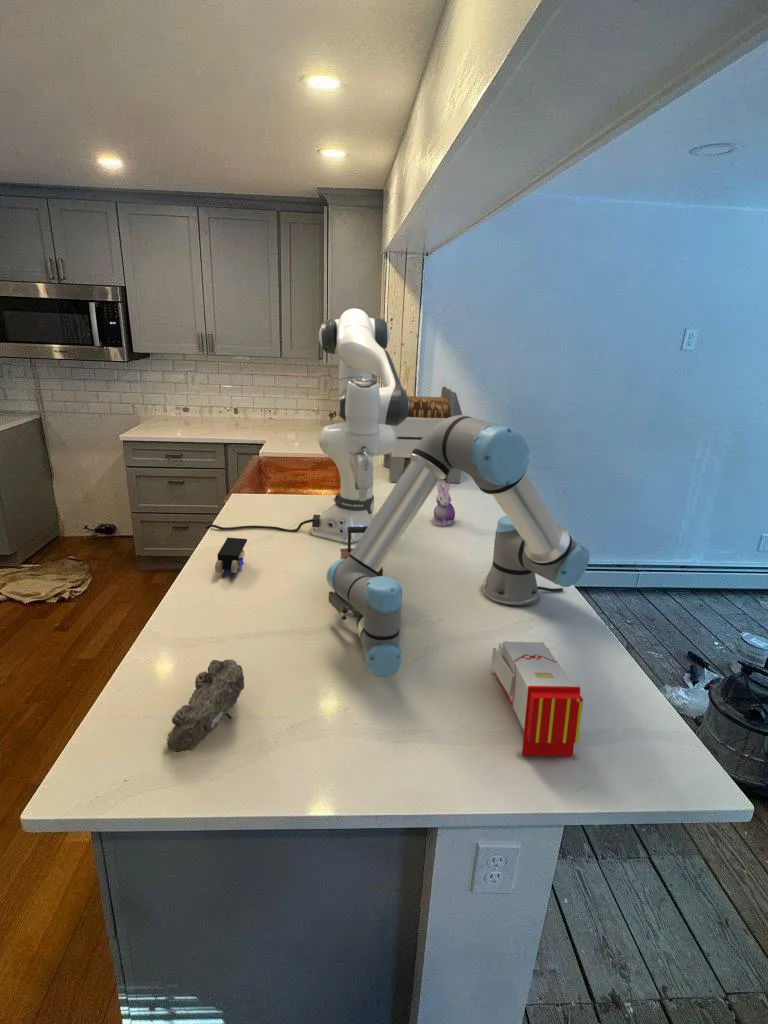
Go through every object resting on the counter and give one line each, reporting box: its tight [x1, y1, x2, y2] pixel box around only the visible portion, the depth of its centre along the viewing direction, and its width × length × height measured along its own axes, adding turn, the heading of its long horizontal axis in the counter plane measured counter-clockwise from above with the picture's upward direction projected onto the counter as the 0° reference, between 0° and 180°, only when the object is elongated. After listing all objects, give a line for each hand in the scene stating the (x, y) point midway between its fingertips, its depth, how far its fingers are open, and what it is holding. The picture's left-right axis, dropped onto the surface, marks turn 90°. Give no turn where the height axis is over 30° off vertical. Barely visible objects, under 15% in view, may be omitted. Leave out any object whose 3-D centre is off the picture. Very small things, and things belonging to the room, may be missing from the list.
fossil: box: [166, 658, 245, 754], centre depth 106 cm, size 22×10×15 cm
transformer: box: [383, 386, 463, 484], centre depth 268 cm, size 34×33×41 cm
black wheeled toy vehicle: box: [214, 537, 248, 578], centre depth 166 cm, size 7×8×15 cm
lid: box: [339, 526, 384, 574], centre depth 149 cm, size 14×10×8 cm
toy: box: [490, 641, 584, 757], centre depth 113 cm, size 12×13×30 cm
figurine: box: [432, 482, 456, 527], centre depth 210 cm, size 9×10×15 cm
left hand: (360, 494), depth 149 cm, fingers open, 8 cm apart
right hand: (361, 581), depth 149 cm, fingers open, 11 cm apart
